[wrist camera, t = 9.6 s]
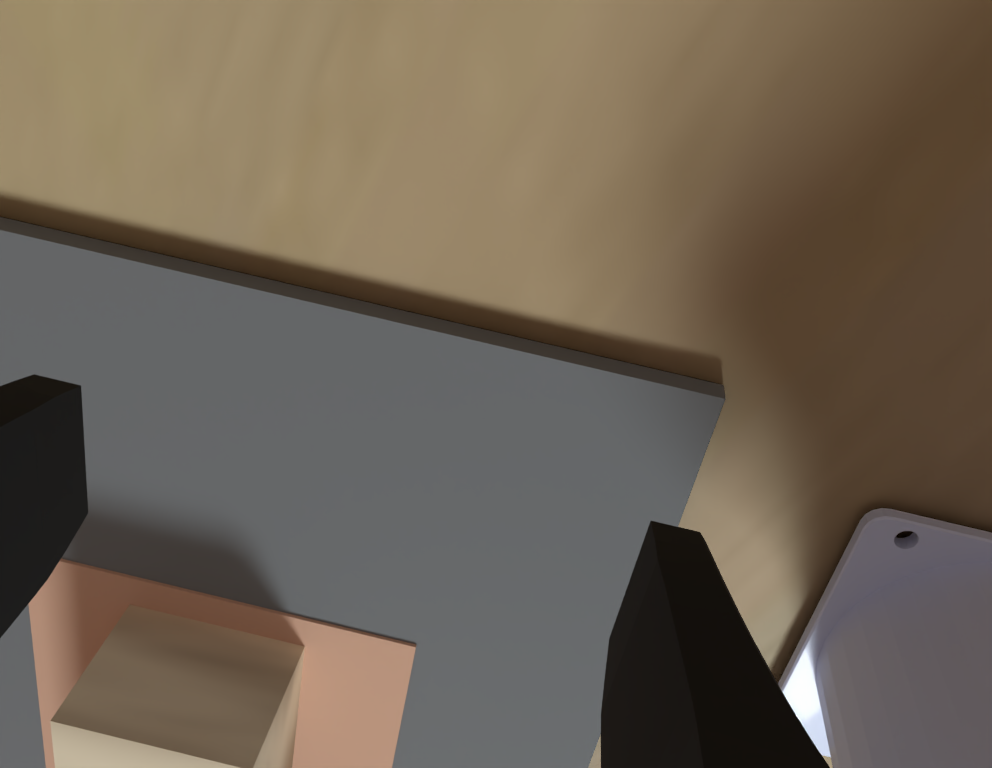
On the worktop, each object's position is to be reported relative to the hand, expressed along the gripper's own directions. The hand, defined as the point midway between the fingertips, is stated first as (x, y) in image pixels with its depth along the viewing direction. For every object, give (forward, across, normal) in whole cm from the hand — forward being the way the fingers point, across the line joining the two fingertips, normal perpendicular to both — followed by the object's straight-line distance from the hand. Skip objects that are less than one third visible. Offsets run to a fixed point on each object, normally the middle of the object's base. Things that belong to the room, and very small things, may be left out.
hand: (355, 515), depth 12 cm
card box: (+9, +5, +17) cm, 20 cm away
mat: (+9, +4, +13) cm, 17 cm away
